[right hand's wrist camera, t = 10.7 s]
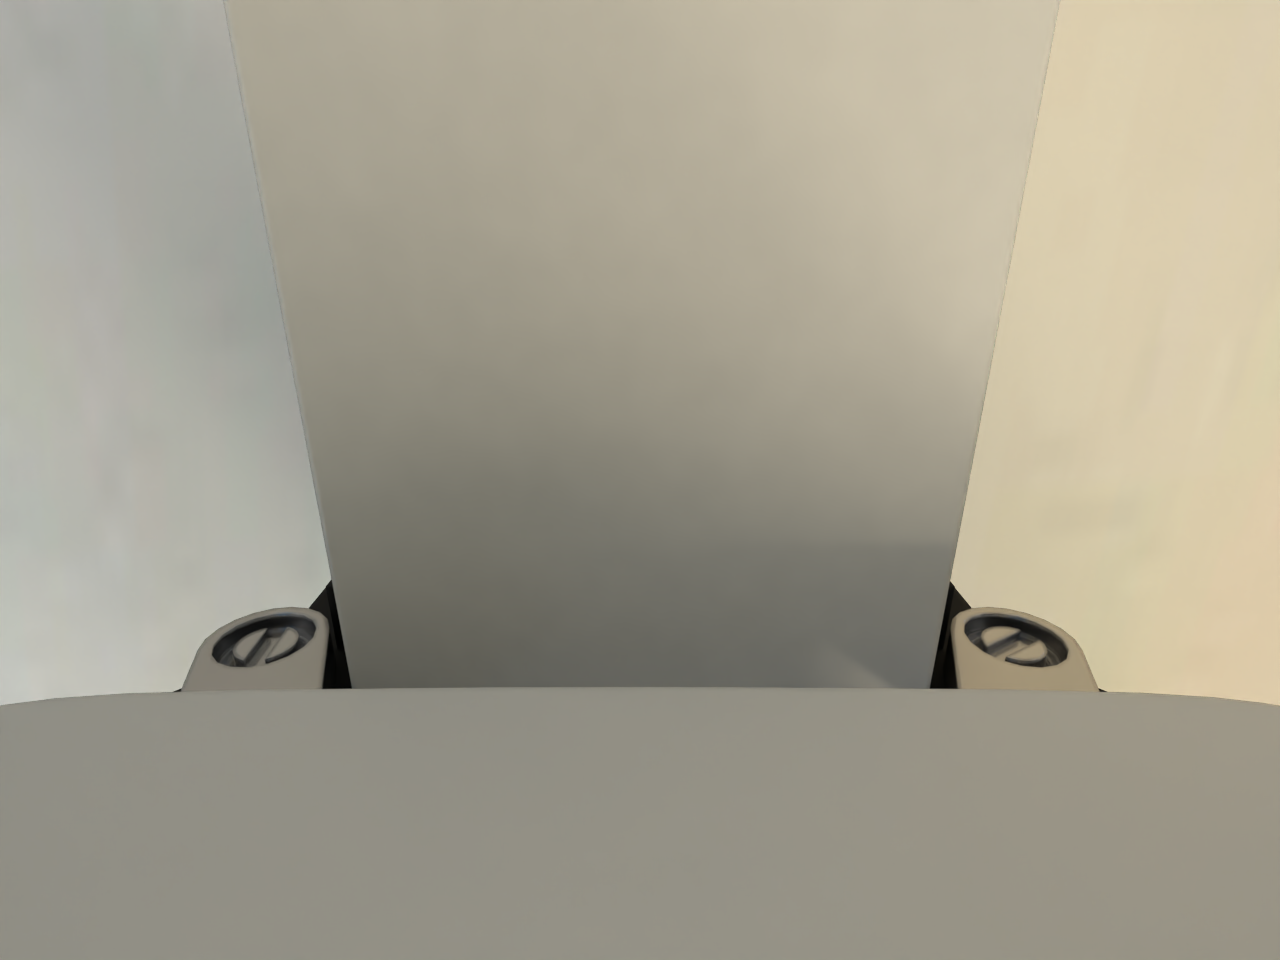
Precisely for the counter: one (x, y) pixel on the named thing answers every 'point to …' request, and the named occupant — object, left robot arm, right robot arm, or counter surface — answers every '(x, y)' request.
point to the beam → (641, 322)
